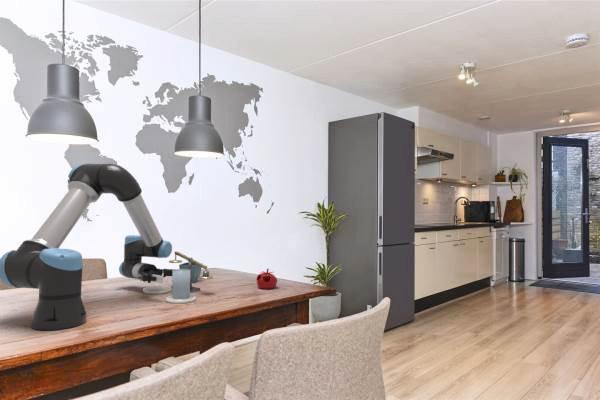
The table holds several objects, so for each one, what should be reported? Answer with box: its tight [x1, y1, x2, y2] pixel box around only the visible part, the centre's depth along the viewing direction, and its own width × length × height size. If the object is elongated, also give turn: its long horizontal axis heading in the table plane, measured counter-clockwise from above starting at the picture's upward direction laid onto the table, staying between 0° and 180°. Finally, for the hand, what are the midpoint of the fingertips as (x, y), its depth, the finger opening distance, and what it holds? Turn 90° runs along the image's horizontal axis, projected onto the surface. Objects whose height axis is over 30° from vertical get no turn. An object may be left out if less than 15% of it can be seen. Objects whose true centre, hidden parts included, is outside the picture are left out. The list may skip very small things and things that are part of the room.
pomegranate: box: [256, 268, 278, 290], centre depth 191 cm, size 10×10×9 cm
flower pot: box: [178, 261, 203, 283], centre depth 203 cm, size 9×9×9 cm
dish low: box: [165, 294, 197, 305], centre depth 162 cm, size 12×12×1 cm
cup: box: [171, 268, 191, 299], centre depth 162 cm, size 7×7×11 cm
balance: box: [168, 251, 214, 294], centre depth 180 cm, size 7×26×17 cm, turn 56°
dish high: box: [142, 285, 172, 295], centre depth 178 cm, size 12×12×1 cm
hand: (176, 277), depth 165 cm, fingers open, 13 cm apart
